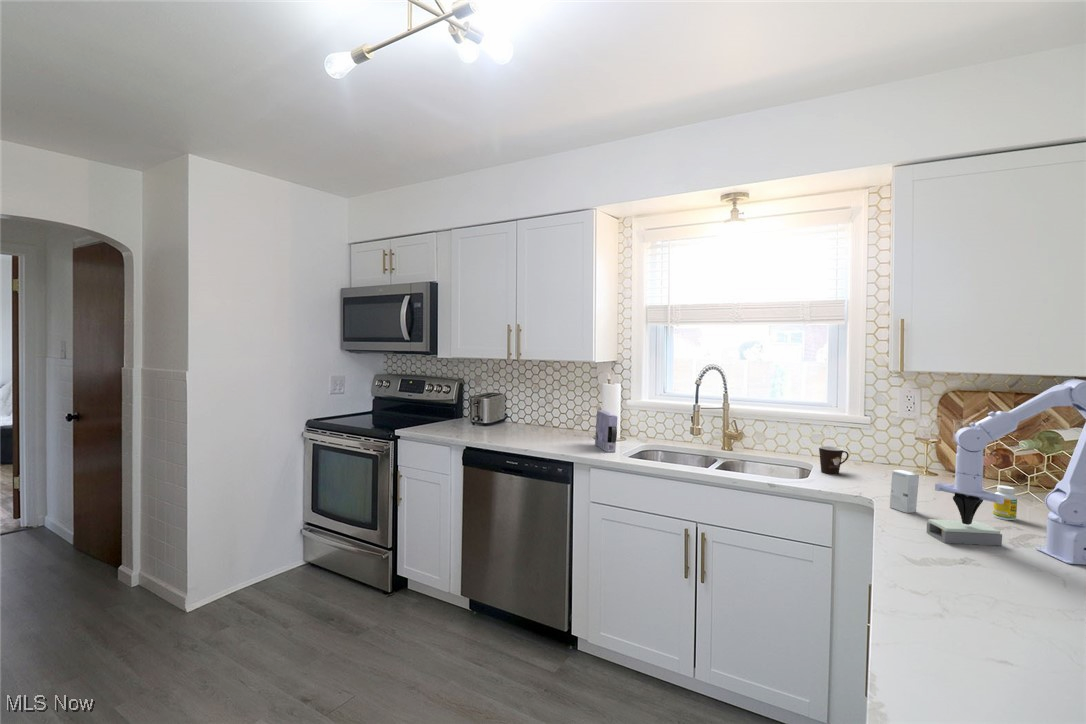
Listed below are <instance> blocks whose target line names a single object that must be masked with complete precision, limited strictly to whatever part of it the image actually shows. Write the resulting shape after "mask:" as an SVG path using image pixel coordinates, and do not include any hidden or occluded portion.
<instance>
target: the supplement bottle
mask: <svg viewBox="0 0 1086 724" xmlns="http://www.w3.org/2000/svg"><path fill="white" fill-rule="evenodd" d="M1015 492H1016V489H1015V487H1012V486H1008V485H1003V484H1002V485H1001V484H999V485H997V487H996V492H994V494H998V495H1003V496H1004V503H1003V504H997V503H996V502H993V508H992V516H993V517H994V518H996V519H998V518H999V520H1002V519H1003V520H1004V521H1008V520H1014V521H1016V520H1017V510H1018V509H1017V508H1018V507H1017V506H1018V496H1017V495H1016V494H1015Z"/></svg>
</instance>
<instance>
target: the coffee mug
mask: <svg viewBox="0 0 1086 724" xmlns="http://www.w3.org/2000/svg"><path fill="white" fill-rule="evenodd" d="M818 451H819V462H820V472H821V473H822V474H826V475H833V474H837V475H839V473H840V471H841V470H840V468H841V465H842V464H844V463H845V462H846V461H847V460H848V459H849V452H848V451H846V450H844V449H843V448H841V447H836V446H831V445H829V446H826V445H822V446H821V445H820V446H818ZM843 453H845V454H846V458H844V459H843V460H842V456H843Z"/></svg>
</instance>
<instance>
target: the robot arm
mask: <svg viewBox="0 0 1086 724" xmlns="http://www.w3.org/2000/svg"><path fill="white" fill-rule="evenodd" d="M1054 407H1074V408H1075V410H1077V411H1078V412H1079V413H1080V414H1081V416H1082V417H1083V418H1084V419H1085V420H1086V380H1083V379H1079V378H1071V379H1068V380H1064V382H1062V383H1061V384H1057V385H1054V386H1052V387H1050V388H1048V389H1046V390H1044V391H1042V392H1040V393H1039V394H1037V395H1036V396H1034V397H1031V398H1029V399H1028V400H1026V401H1024V402H1023V403H1022V404H1019V405H1018V406H1015V408H1012V409H1011V410H1009V411H1004V410H998V411H996V412H995V411H992V410H991V411H990V412H988V413H987V415H988V416H986V417H984V418H983V419H980V420H978V421H976V422H973V421H972V422H970V423H969V426H970V427H969V426H967V427H966V426H965V427H962V428H960V429H958V430H957V431H956V433H955V435H954V436H953V439H954V441H955V443H956V445H957V446H956V454H955V469H954V471H955V474H954V475H955V476H954V484H950V483H942V482H936V483H935V484H934V491H937V492H944V493H949V494H953V495H954V496H952V499H953V501H954V504H955V505H956V507H957V509H958V512H959V515H960V519H961V521H962V523H963V524H967V525H969V524H971V523H972V521H974V520H973V519H974V517H975V514H976V513H977V510H978V509H979V507H980V506H981V505H982V503H983V501H988V502H991V503H994V502H996V503H997V504H1003V503H1004V496H1003V495H998V494H995V492H994V493H993V492H990V491H987V490H983V484H984V483H983V481H984V479H983V478H984V459H985V458H984V450H985V449H987V446H988V444H989V443H993V442H994V441H996V440H998V439H1000V438H1002V437H1004V436H1007V435H1008V434H1010V433H1012V432H1014V431H1016V430H1017V429H1018V425H1019V423H1020V422H1022V421H1024V420H1027V419H1030V418H1032V417H1033V416H1035V415H1038V414H1040V413H1042V412H1045V411H1046V410H1048V409H1051V408H1054ZM1044 503H1045V506H1046V507H1047V508H1048V510H1050V511H1049V512H1048V514H1047V518H1046V520H1047V521H1046V539H1045V546H1044V547H1042V546H1041V547H1040V546H1036V547H1035V550H1037V551H1039V552H1041V553H1043V554H1046V555H1048V556H1051V557H1052V558H1055V559H1057V560H1060V561H1062V562H1064V563H1066V564H1068V565H1085V566H1086V422H1085V423H1084V425H1083V428H1082V430H1081V433H1080V435H1079V438H1078V441H1077V443H1076V446H1075V449H1074V450H1073V453H1072V456H1071V458H1070V461H1069V463H1068V466H1067V468H1066V471H1065V472H1064V475H1063V478H1062V479H1061V480H1060V481H1058V482H1057V483H1056V485H1055V487H1054V489H1053V490H1052V491H1050V492H1049V493H1048V494H1047V495H1046V496H1045V498H1044Z"/></svg>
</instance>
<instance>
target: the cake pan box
mask: <svg viewBox="0 0 1086 724" xmlns="http://www.w3.org/2000/svg"><path fill="white" fill-rule="evenodd" d="M595 419H596V420H595V421H596V422H595V435H594V436H595V438H594V445H595V446H596V447H598V448H599V449H600V450H602V451H604V452H605V453H616V446H617V443H616V442H617V439H618V438H617V436H618V416H617V415H615V414H613V413H612V412H608V411H607V410H600V409H598V410H596V418H595Z"/></svg>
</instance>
